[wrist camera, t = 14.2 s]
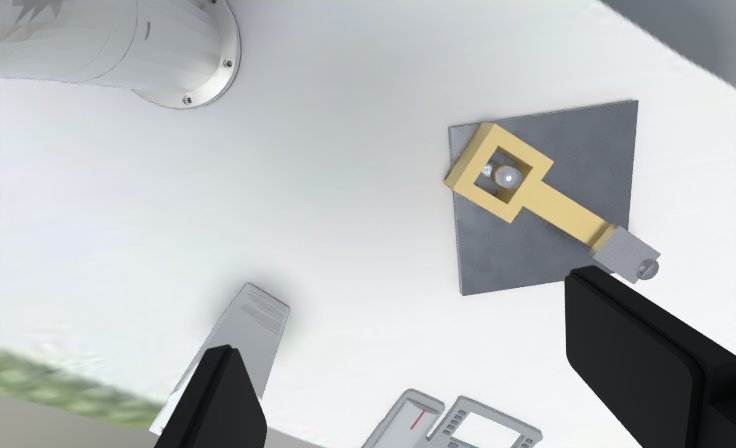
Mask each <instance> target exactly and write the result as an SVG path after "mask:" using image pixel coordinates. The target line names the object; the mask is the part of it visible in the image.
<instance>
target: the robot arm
mask: <svg viewBox="0 0 736 448" xmlns="http://www.w3.org/2000/svg"><path fill="white" fill-rule="evenodd" d="M240 50H241V44H240V36H239V30H238V27H237V24H236V21H235V18H234V16H233V14H232V12H231V10H230V8H229V6H228V4H227V3H226V1H225V0H217V2H216V3H215V4H214V3H213V0H0V78H6V79H30V80H44V81H56V82H64V83H74V84H85V85H96V86H107V87H118V88H129V89H132V90H133V91H134V92H135V93H136V94H138V95H139V96H141V97H142V98H144V99H146V100H147V101H149V102H151V103H154V104H157V105H159V106H162V107H167V108H172V109H192V108H198V107H201V106H204V105H207V104H209V103H211V102H213V101H214V100H216V99H217V98H219V97H220V96H221V95H222V94H223V93H224V92H225V91H226V90H227V89H228V87H229V86H230V84H231V83H232V82H233V79H234V77H235V75H236V73H237V70H238V66H239V61H240ZM230 61H231V62H232V66H231V67H229V66H228V62H230ZM189 98H191V101H192V102H191V103H190V102H189V101H188V99H189ZM564 282H565V324H566V355H567V359H568V361H569V363H570V365H571V366H572V368H573V369H574V370H575V371H576V372H577V373H578V375H579V376H580V377H581V378H582V379H583V380H584V381H585V382H586V384H587V385H588V386H589V387H590V388H591V389H592V390H593V392H594V393H595V394H596V395H597V396H598V397H599V398H600V400H601V401H602V402H603V403H604V404H605V405H606V406H607V408H608V409H609V410H610V411H611V412H612V413H613V414H614V416H615V417H616V418H617V419H618V420H619V421H620V422H621V424H622V425H623V426H624V427H625V428H626V429H627V430H628V432H629V433H630V434H631V435H632V436H633V437H634V438H635V440H636V441H637V442H638V443H639V444H640V445H641V446H642V447H643V448H736V355H734V354H733V353H731V352H730V351H728V350H727V349H725V348H723V347H722V346H720V345H719V344H717V343H716V342H714V341H713V340H711V339H709V338H708V337H706V336H705V335H703V334H702V333H700V332H698V331H697V330H695V329H694V328H692V327H691V326H689V325H688V324H686V323H684V322H683V321H681V320H680V319H678V318H677V317H675V316H674V315H672V314H670V313H669V312H667V311H666V310H664V309H663V308H661V307H659V306H658V305H656V304H655V303H653V302H652V301H650V300H649V299H647V298H645V297H644V296H642V295H641V294H639V293H638V292H636V291H634V290H633V289H631V288H630V287H628V286H627V285H625V284H624V283H622V282H620V281H619V280H617V279H616V278H614V277H613V276H611V275H610V274H608V273H606V272H605V271H603V270H602V269H600V268H599V267H597V266H595V265H589V266H585V267H580V268H575V269H572V270H571V271H570V273H569V275H568V276H566V277H565V281H564ZM266 433H267V423H266V419H265V416H264V414H263V411H262V408H261V406H260V403H259V401H258V398H257V395H256V393H255V390H254V388H253V385H252V382H251V380H250V377H249V375H248V372H247V370H246V367H245V364H244V362H243V359H242V357H241V354H240V352H239V350H238V349H237V348H232V346H231V345H229V344H226V345H222V346H217V347H212V348H208V349H207V350H206V351H205V353H204V355H203V356H202V358H201V360H200V362H199V364H198V366H197V368H196V370H195V372H194V373H193V375H192V377H191V379H190V381H189V383H188V385H187V387H186V388H185V390H184V392H183V394H182V396H181V398H180V400H179V402H178V403H177V405H176V407H175V409H174V411H173V413H172V415H171V417H170V418H169V420H168V422H167V424H166V426H165V428H164V430H163V432H162V433H161V435H160V437H159V439H158V441H157V443H156V445H155V447H154V448H264V444H265V439H266Z"/></svg>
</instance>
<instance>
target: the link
mask: <svg viewBox="0 0 736 448" xmlns="http://www.w3.org/2000/svg"><path fill="white" fill-rule="evenodd" d="M496 149H497V150H499V151H501V152H502V153H504V154H505V155H507V156H509V157H510V158H512V159H513V160H515V161H517V162H518V163H517V165H516V166H515V169H517V170H519V171H520V172H521V174H522V181H521V183H520V184H519V186H517V187H516V188H514V189H507V188H505V187H503V186H502V187H501V188H500V190H499V191H498V193H497V194H496V196H495V197H494V196H492V195H491V194H489V193H487V192H486V191H484V190H482V189H481V188H479V187H477V186H476V185H474V184H473V183H474V182H475V180H476V179H477V177H478V175H479V174H480V172H481V171H482V169H483V168H484V166H485V165H486V163H487V162H488V160H489V159H490V157H491V156H492V154H493V153H494V151H495V150H496ZM553 163H554V161H552V160H551V159H549V158H548V157H546V156H545V155H543V154H542V153H540V152H538V151H537V150H535V149H534V148H532V147H531V146H529V145H528V144H526V143H525V142H523V141H521V140H520V139H518V138H517V137H515V136H514V135H512V134H511V133H509V132H507V131H506V130H504V129H503V128H501V127H500V126H498V125H497V124H495V123H485V122H482V124H481V125H480V127H479V128H478V130H477V131H476V133H475V135H474V136H473V138H472V139H471V141H470V142H469V144H468V146H467V147H466V149H465V150H464V152H463V153H462V155H461V157H460V158H459V160H458V161H457V163H456V164H455V166H454V168H453V169H452V171H451V172H450V174H449V175H448V177H447V179H446V180H445V182H444V183H445V184H446V185H447V186H448V187H450V188H451V189H452V190H454V191H456V192H457V193H459V194H461V195H462V196H464V197H466V198H468V199H469V200H471V201H473V202H474V203H476V204H478V205H480V206H481V207H483V208H485V209H486V210H488V211H490V212H492V213H493V214H495V215H497V216H498V217H500V218H502V219H504V220H505V221H507V222H509V223H510V224H511V222H512V221H513V219H514V218H515V217H516V215H517V214H518V212H519V211H520V209H521V208H522V207H525V208H527V209H528V210H530V211H532V212H533V213H535V214H537V215H538V216H540V217H542V218H543V219H545V220H547V221H548V222H550V223H552V224H553V225H555V226H557V227H558V228H560V229H562V230H563V231H565V232H567V233H568V234H570V235H572V236H573V237H575V238H577V239H578V240H580V241H582V242H583V243H585V244H587V245H589V246H590V247H593V246H594V244H595V243H596V242H597V241H598V240H599V238H600V237H601V236H602V235H603V234H604V232H605V231H606V230H607V229H608V228H609V226H610V225H611V224H609V223H608V222H606V221H605V220H603V219H601V218H600V217H598V216H597V215H595V214H593V213H592V212H590V211H589V210H587V209H585V208H584V207H582V206H581V205H579V204H577V203H576V202H574V201H573V200H571V199H569V198H568V197H566V196H565V195H563V194H561V193H560V192H558V191H557V190H555V189H553V188H552V187H550V186H549V185H547V184H545V183H544V182H542V181H541V180H542V178H543V177H544V176H545V174H546V173H547V171H548V170H549V169H550V167H551V166H552V164H553Z"/></svg>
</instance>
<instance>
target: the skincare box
mask: <svg viewBox="0 0 736 448" xmlns="http://www.w3.org/2000/svg"><path fill="white" fill-rule="evenodd" d="M289 312H290V308H289V307H287V306H286V305H284V304H282V303H281V302H279V301H278V300H276V299H274V298H273V297H271V296H269V295H268V294H266V293H265V292H263V291H261V290H260V289H258V288H257V287H255V286H253V285H252V284H250V283H247V284H246V285H245V286H244V287H243V289H242V290H241V291H240V293H239V294H238V295H237V296H236V298H235V299H234V300H233V302H232V303H231V304H230V306H229V307H228V308H227V310H226V311H225V312H224V314H223V315H222V317H221V318H220V319H219V321H218V322H217V324H216V325H215V327H214V328H213V330H212V331H211V333H210V334H209V336H208V337H207V339H206V341H205V342H204V344H203V345H202V347H201V348H200V350H199V351H198V353H197V354H196V356H195V357H194V359H193V361H192V362H191V364H190V365H189V367H188V368H187V370H186V371H185V373H184V375H183V376H182V378H181V379H180V381H179V382H178V384H177V385H176V387H175V389H174V390H173V392H172V393H171V395H170V396H169V398H168V400H167V401H166V403H165V404H164V406H163V408H162V409H161V411H160V412H159V414H158V416H157V417H156V419H155V421H154V422H153V423H152V425H151V427H150V429H149V430H150V431H151V432H153V433H155V434H157V435H159V436H160V435H161V433H162V432H163V430H164V428H165V426H166V424H167V422H168V420H169V418H170V417H171V415H172V413H173V411H174V409H175V407H176V405H177V403H178V402H179V400H180V398H181V396H182V394H183V392H184V390H185V388H186V387H187V385H188V383H189V381H190V379H191V377H192V375H193V373H194V372H195V370H196V368H197V366H198V364H199V362H200V360H201V358H202V356H203V355H204V353H205V351H206V350H207V349H208V348H212V347H217V346H222V345H226V344H229V345H231V346H232V348H237V349H238V350H239V352H240V354H241V357H242V359H243V362H244V364H245V367H246V370H247V372H248V375H249V377H250V380H251V382H252V385H253V388H254V390H255V393H256V395H257V398H258V401H259V403H260V402H261V401H262V396H263V393H264V390H265V387H266V384H267V381H268V377H269V374H270V371H271V368H272V365H273V362H274V359H275V356H276V352H277V349H278V346H279V343H280V340H281V337H282V334H283V330H284V327H285V324H286V321H287V318H288V315H289Z"/></svg>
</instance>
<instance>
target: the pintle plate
mask: <svg viewBox="0 0 736 448" xmlns="http://www.w3.org/2000/svg"><path fill="white" fill-rule="evenodd" d="M637 112H638V100H631V101H624V102H617V103H611V104H604V105H597V106H591V107H584V108H577V109H571V110H564V111H557V112H551V113H544V114H537V115H531V116H524V117H517V118H511V119H504V120H497V121H491V122H485V123H495V124H497V125H498V126H500V127H501V128H503V129H504V130H506V131H507V132H509V133H511V134H512V135H514V136H515V137H517V138H518V139H520V140H521V141H523V142H525V143H526V144H528V145H529V146H531V147H532V148H534V149H535V150H537V151H538V152H540V153H542V154H543V155H545V156H546V157H548V158H549V159H551V160H552V161H554V163H553V164H552V166H551V167H550V169H549V170H548V171H547V173H546V174H545V176H544V177H543V178H542V180H541V181H542V182H544V183H545V184H547V185H549V186H550V187H552V188H553V189H555V190H557V191H558V192H560V193H561V194H563V195H565V196H566V197H568V198H569V199H571V200H573V201H574V202H576V203H577V204H579V205H581V206H582V207H584V208H585V209H587V210H589V211H590V212H592V213H593V214H595V215H597V216H598V217H600V218H601V219H603V220H605V221H606V222H608V223H609V224H611V225H610V226H609V228H608V229H607V230H606V231H605V232H604V234H603V235H602V236H601V237H600V238H599V240H598V241H597V242H596V243H595V244H594V246H593V247H590V246H589V245H587V244H585V243H583V242H582V241H580V240H578V239H577V238H575V237H573V236H572V235H570V234H568V233H567V232H565V231H563V230H562V229H560V228H558V227H557V226H555V225H553V224H552V223H550V222H548V221H547V220H545V219H543V218H542V217H540V216H538V215H537V214H535V213H533V212H532V211H530V210H528V209H527V208H525V207H522V208H521V209H520V211H519V212H518V214H517V215H516V217H515V218H514V219H513V221H512V222H511V224H510V223H509V222H507V221H505V220H504V219H502V218H500V217H498V216H497V215H495V214H493V213H492V212H490V211H488V210H486V209H485V208H483V207H481V206H480V205H478V204H476V203H474V202H473V201H471V200H469V199H468V198H466V197H464V196H462V195H461V194H459V193H457V192H456V191H454V190H453V199H454V212H455V226H456V240H457V254H458V268H459V282H460V293H461V294H462V296H466V295H473V294H480V293H486V292H493V291H499V290H506V289H513V288H519V287H526V286H532V285H539V284H545V283H552V282H559V281H565V277H566V276H568V275H569V273H570V271H571V270H572V269H575V268H580V267H585V266H589V265H595V266H597V267H599V268H600V269H602V270H603V271H605V272H606V273H608V274H611V273H617V274H618V275H620V276H621V277H623V278H624V279H626V280H627V281H629V282H631V283H632V284H635V283H636V282H637V281H638V279H641V280H648V279H651V278H652V277H654V276H655V275H656V273H657V272H658V269H659V265H658V262H657V261H656V259H657V258H658V257H659V256H660V255H661V254H660V253H659V252H657V251H656V250H654V249H653V248H651V247H650V246H648V245H647V244H645V243H644V242H643V241H641V240H640V239H638V238H637V237H635V236H634V235H632V234H631V233H630V232H628V223H629V210H630V198H631V186H632V174H633V161H634V149H635V137H636V124H637ZM481 124H482V123H477V124H471V125H464V126H457V127H451V128H448V129H449V143H450V157H451V171H452V169H453V168H454V166H455V164H456V163H457V161H458V160H459V158H460V157H461V155H462V153H463V152H464V150H465V149H466V147H467V146H468V144H469V142H470V141H471V139H472V138H473V136H474V135H475V133H476V131H477V130H478V128H479V127H480V125H481ZM517 163H518V162H517V161H515V160H513V159H512V158H510V157H509V156H507V155H505V154H504V153H502V152H501V151H499V150H497V149H496V150H495V151H494V153H493V154H492V156H491V157H490V159H489V160H488V162H487V163H486V165H485V166H484V168H483V169H482V171H481V172H480V174H479V175H478V177H477V179H476V180H475V182H474V183H473V184H474V185H476V186H477V187H479V188H481V189H482V190H484V191H486V192H487V193H489V194H491V195H492V196H494V197H495V196H496V194H497V193H498V191H499V190H500V188H501V187H502V186H503V187H505V188H507V189H514V188H516V187H517V186H519V184H520V183H521V181H522V174H521V172H520V171H519V170H517V169H515V166H516V165H517Z"/></svg>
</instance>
